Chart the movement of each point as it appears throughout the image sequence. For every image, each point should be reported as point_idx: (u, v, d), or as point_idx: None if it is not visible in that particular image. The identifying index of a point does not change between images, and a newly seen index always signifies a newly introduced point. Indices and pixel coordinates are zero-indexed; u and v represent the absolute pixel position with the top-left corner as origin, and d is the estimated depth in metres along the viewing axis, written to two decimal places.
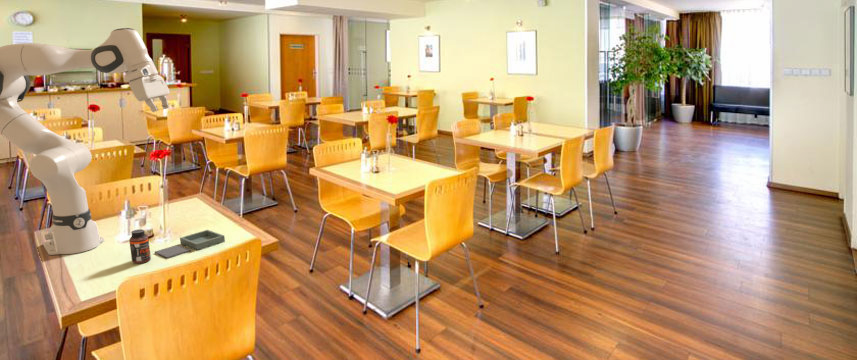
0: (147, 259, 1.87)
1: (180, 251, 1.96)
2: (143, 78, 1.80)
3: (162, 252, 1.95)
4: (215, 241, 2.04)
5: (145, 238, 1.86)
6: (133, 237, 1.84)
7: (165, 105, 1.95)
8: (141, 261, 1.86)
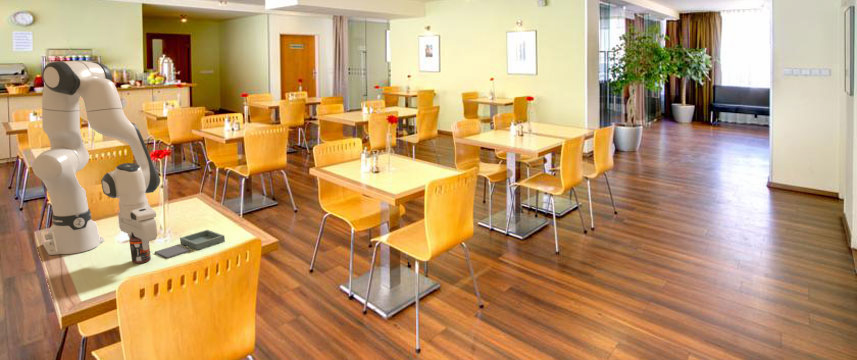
0: (147, 259, 1.87)
1: (180, 251, 1.96)
2: None
3: (162, 252, 1.95)
4: (215, 241, 2.04)
5: None
6: (133, 237, 1.84)
7: None
8: (141, 261, 1.86)
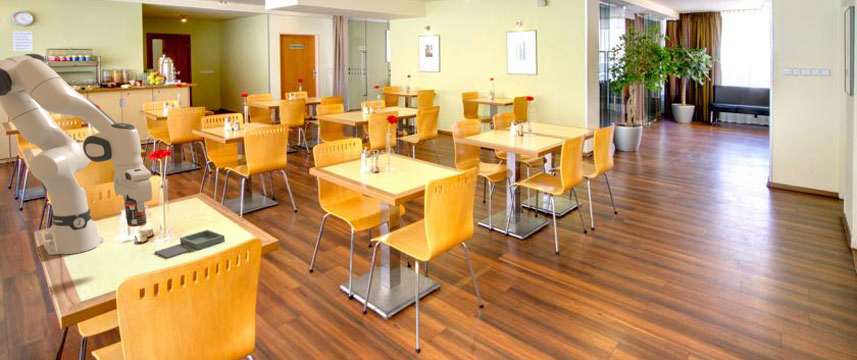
0: (143, 222, 1.84)
1: (180, 251, 1.96)
2: None
3: (162, 252, 1.95)
4: (215, 241, 2.04)
5: None
6: (128, 199, 1.81)
7: None
8: (136, 224, 1.83)
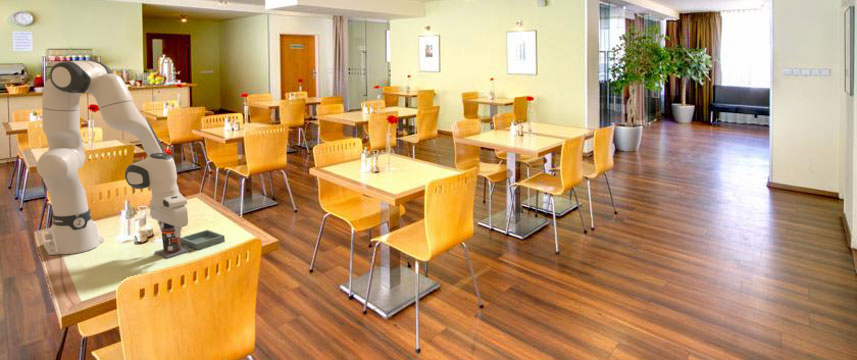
0: (178, 248, 1.95)
1: (180, 251, 1.96)
2: None
3: (162, 252, 1.95)
4: (215, 241, 2.04)
5: None
6: (165, 227, 1.92)
7: None
8: (172, 250, 1.94)
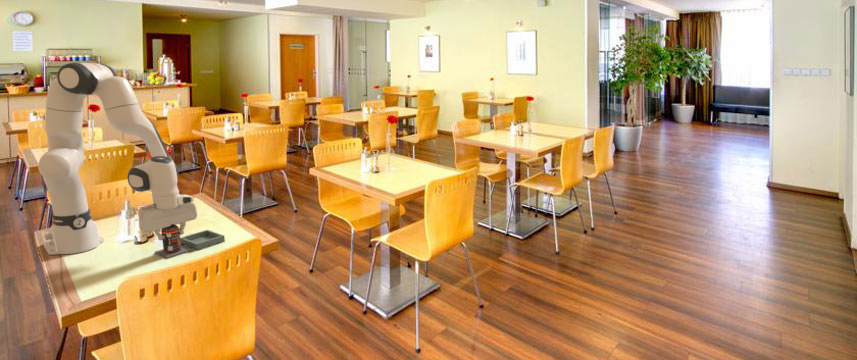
0: (178, 248, 1.95)
1: (180, 251, 1.96)
2: None
3: (162, 252, 1.95)
4: (215, 241, 2.04)
5: (176, 228, 1.94)
6: None
7: None
8: (172, 250, 1.94)
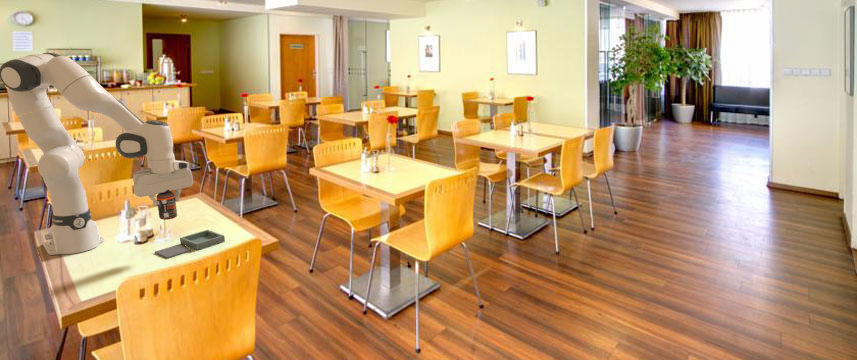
0: (174, 215, 1.92)
1: (180, 251, 1.96)
2: None
3: (162, 252, 1.95)
4: (215, 241, 2.04)
5: (172, 195, 1.91)
6: (160, 194, 1.89)
7: None
8: (168, 217, 1.91)
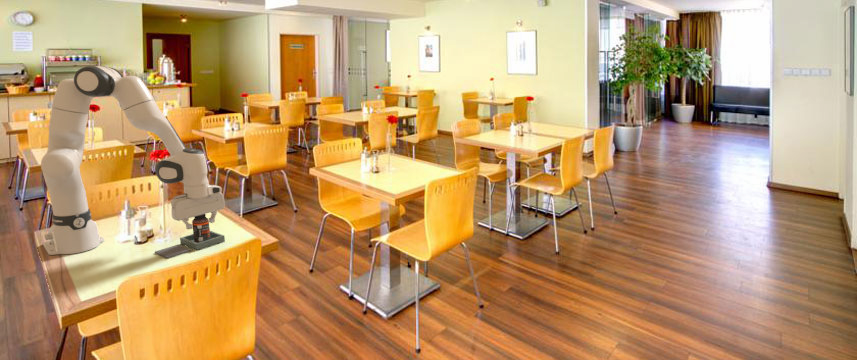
0: (208, 239, 2.05)
1: (180, 251, 1.96)
2: None
3: (162, 252, 1.95)
4: (215, 241, 2.04)
5: (206, 220, 2.03)
6: (196, 219, 2.02)
7: None
8: None
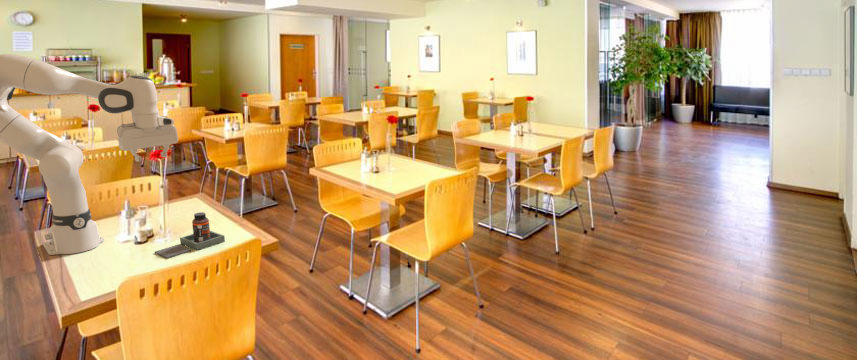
0: (208, 239, 2.05)
1: (180, 251, 1.96)
2: None
3: (162, 252, 1.95)
4: (215, 241, 2.04)
5: (206, 220, 2.03)
6: (196, 219, 2.02)
7: None
8: None
